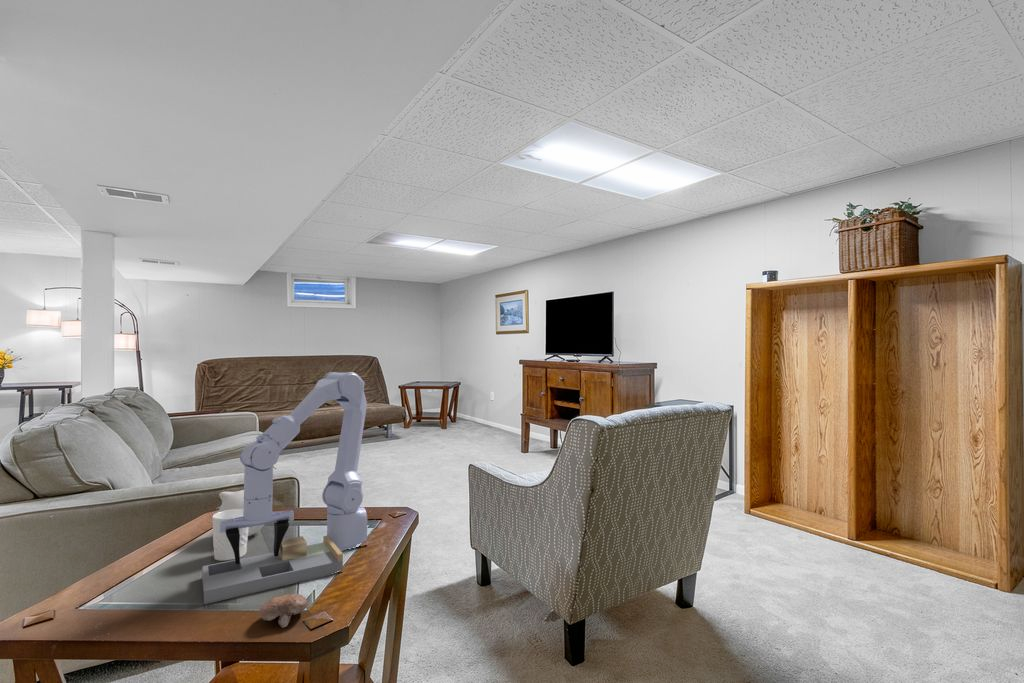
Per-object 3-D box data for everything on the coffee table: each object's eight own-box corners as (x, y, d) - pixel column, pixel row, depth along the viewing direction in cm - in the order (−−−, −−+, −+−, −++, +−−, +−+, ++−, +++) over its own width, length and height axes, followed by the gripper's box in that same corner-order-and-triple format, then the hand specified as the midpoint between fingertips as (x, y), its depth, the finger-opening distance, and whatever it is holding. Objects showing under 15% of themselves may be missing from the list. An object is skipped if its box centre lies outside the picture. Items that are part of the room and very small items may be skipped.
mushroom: (311, 626, 86) (314, 594, 93) (293, 602, 84) (297, 571, 91) (270, 650, 84) (276, 616, 92) (250, 626, 82) (258, 594, 90)
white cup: (232, 563, 113) (233, 519, 113) (203, 560, 115) (204, 517, 115) (256, 550, 121) (257, 509, 121) (228, 548, 122) (229, 508, 123)
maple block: (302, 548, 115) (302, 535, 115) (306, 555, 111) (306, 542, 111) (278, 553, 112) (279, 540, 112) (282, 560, 108) (282, 546, 108)
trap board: (327, 551, 120) (327, 535, 120) (342, 572, 108) (342, 553, 108) (202, 578, 105) (202, 559, 105) (204, 604, 94) (204, 583, 94)
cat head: (208, 549, 121) (210, 500, 122) (213, 533, 133) (214, 488, 133) (275, 539, 128) (276, 492, 129) (274, 525, 140) (275, 482, 140)
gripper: (290, 487, 116) (289, 546, 115) (219, 497, 108) (217, 560, 107) (295, 494, 110) (294, 555, 109) (221, 505, 102) (219, 571, 101)
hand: (257, 558), depth 108 cm, fingers open, 7 cm apart
